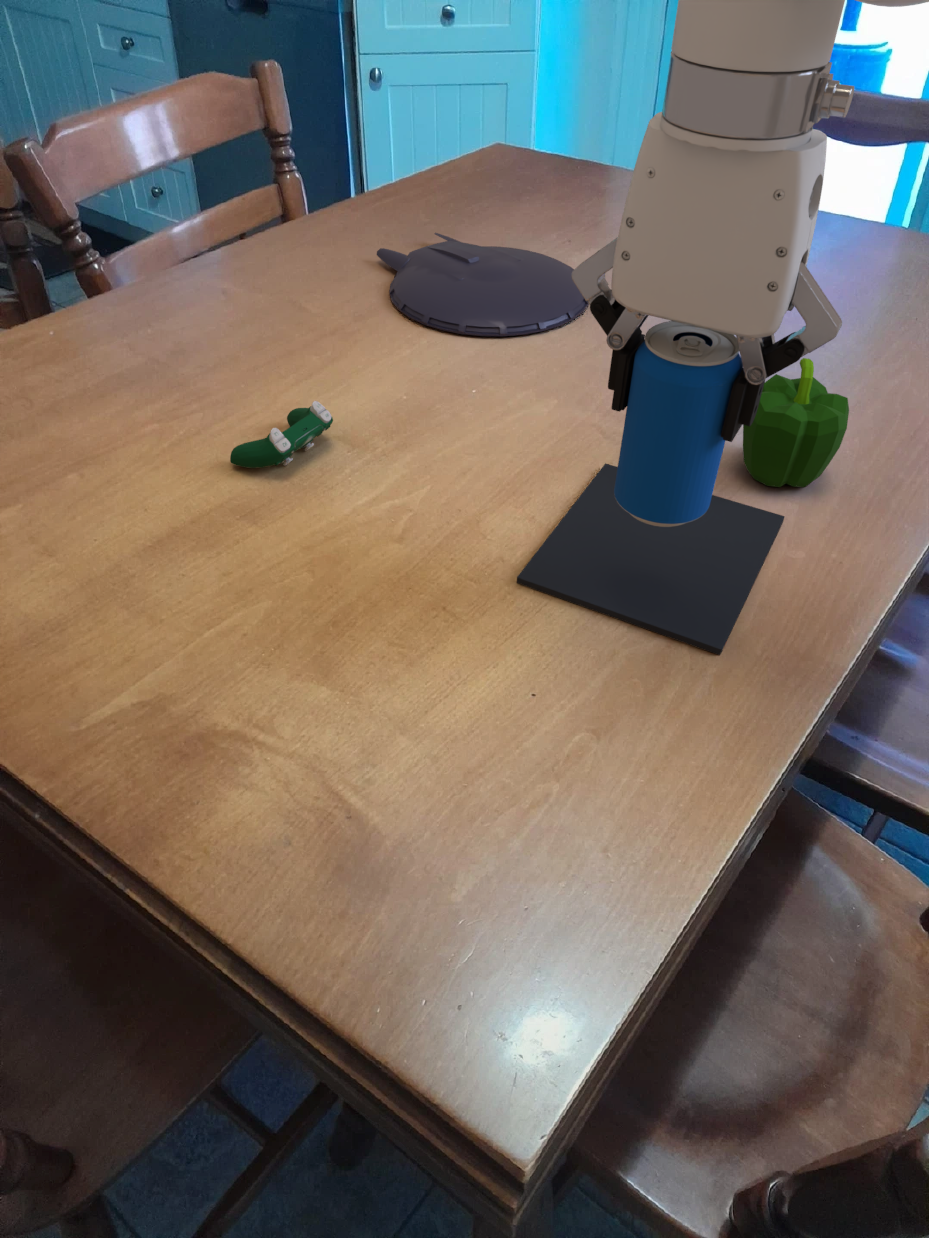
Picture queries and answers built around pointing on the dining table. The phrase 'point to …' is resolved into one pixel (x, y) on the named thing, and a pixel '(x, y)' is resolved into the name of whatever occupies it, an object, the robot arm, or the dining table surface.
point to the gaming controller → (284, 439)
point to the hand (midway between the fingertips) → (677, 414)
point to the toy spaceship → (483, 289)
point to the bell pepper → (794, 430)
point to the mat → (655, 564)
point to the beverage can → (675, 423)
